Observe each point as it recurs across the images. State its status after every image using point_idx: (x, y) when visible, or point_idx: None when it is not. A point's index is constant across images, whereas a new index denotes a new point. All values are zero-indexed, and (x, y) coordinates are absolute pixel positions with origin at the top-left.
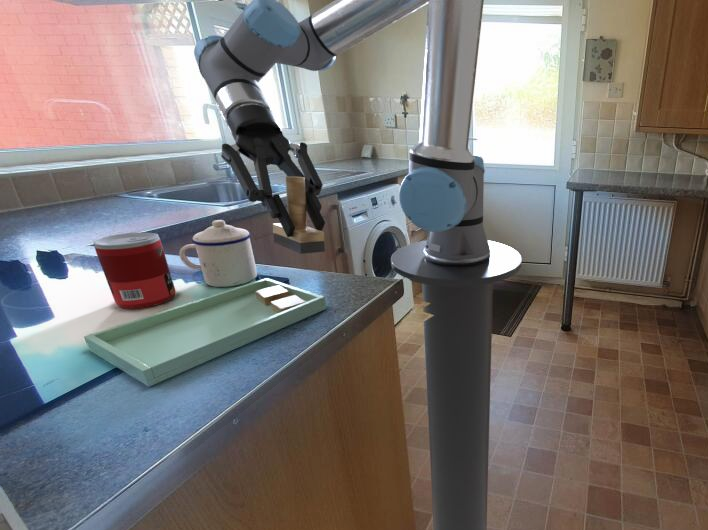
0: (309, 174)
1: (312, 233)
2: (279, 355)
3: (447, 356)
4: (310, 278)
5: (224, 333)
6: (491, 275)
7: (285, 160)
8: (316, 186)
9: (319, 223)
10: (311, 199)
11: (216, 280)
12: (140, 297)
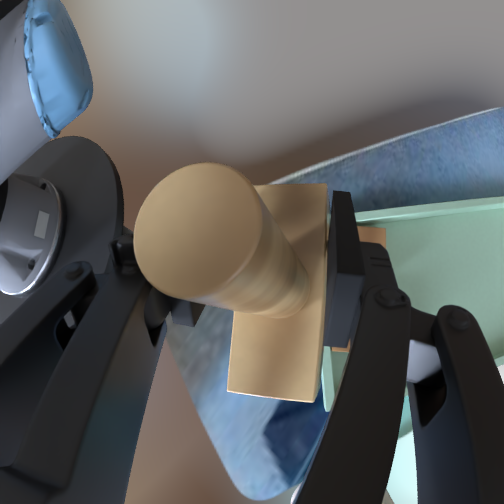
0: (39, 343)
1: (286, 185)
2: (415, 154)
3: None
4: (232, 396)
5: (458, 248)
6: (76, 139)
7: (55, 487)
8: (93, 274)
9: None
10: None
11: None
12: None
